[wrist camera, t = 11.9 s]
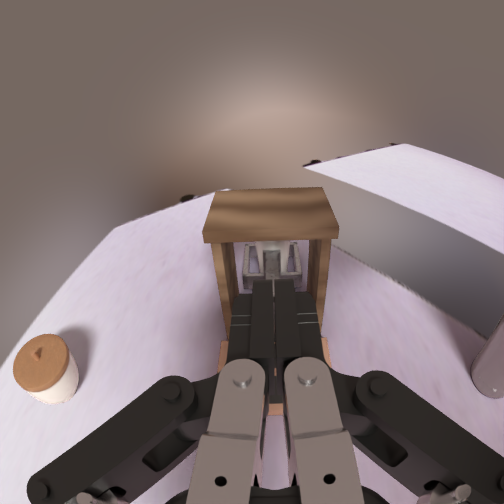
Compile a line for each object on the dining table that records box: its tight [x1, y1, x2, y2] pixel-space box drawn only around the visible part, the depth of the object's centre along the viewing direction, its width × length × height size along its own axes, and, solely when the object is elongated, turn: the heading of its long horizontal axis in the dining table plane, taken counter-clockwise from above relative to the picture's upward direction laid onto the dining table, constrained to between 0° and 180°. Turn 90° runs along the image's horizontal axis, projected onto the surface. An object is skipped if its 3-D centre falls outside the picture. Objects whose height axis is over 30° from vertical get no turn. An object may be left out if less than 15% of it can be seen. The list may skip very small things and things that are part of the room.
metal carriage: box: [234, 242, 312, 342], centre depth 52 cm, size 26×11×11 cm, turn 178°
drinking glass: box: [255, 240, 290, 273], centre depth 56 cm, size 7×7×15 cm
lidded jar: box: [13, 334, 79, 404], centre depth 36 cm, size 11×11×9 cm
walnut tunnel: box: [202, 187, 339, 341], centre depth 45 cm, size 12×16×21 cm
